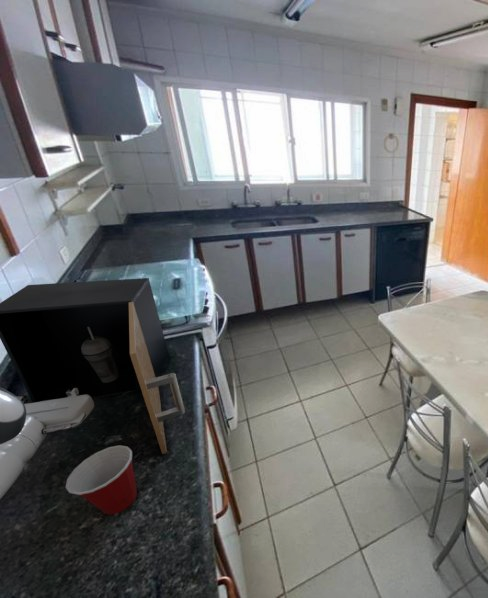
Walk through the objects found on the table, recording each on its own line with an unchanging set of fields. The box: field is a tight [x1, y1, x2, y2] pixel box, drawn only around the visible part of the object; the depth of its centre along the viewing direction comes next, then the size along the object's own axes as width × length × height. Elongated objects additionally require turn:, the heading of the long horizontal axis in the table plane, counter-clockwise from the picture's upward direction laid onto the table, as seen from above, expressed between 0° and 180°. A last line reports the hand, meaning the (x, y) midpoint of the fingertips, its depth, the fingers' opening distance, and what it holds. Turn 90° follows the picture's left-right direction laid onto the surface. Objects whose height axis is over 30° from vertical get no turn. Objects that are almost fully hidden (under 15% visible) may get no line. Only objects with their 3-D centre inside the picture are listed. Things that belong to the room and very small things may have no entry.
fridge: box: [0, 277, 170, 403], centre depth 101 cm, size 18×30×32 cm, turn 112°
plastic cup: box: [65, 445, 138, 515], centre depth 70 cm, size 11×11×12 cm
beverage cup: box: [81, 327, 119, 383], centre depth 103 cm, size 7×7×20 cm
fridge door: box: [129, 302, 186, 455], centre depth 90 cm, size 7×30×31 cm, turn 37°
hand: (49, 394), depth 78 cm, fingers open, 8 cm apart
